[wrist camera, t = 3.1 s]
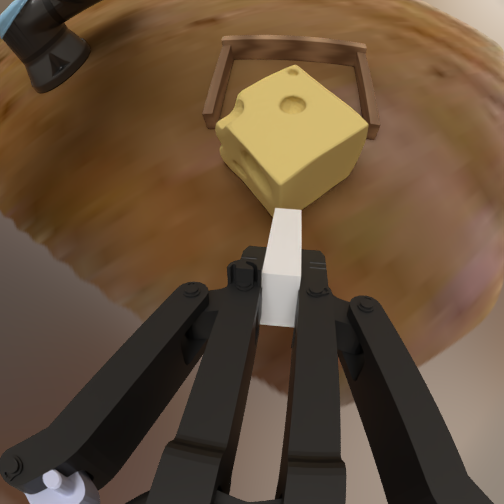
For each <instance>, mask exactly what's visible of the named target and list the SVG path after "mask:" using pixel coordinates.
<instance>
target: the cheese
mask: <svg viewBox="0 0 504 504" xmlns="http://www.w3.org/2000/svg"><path fill="white" fill-rule="evenodd" d="M215 131H216V135H217V137H218V139H219V141H220V142H221V144H222V145H221V147H220V155H221V157H222V159H223V160H224V162H225V163H226V164H227V166H228V167H229V168H230V169H231V170H232V171H233V172H234V173H235V174H236V175H238V176H239V177H240V178H241V180H242V181H243V182H244V183H245V184H246V185H247V186H248V188H249V189H250V190H251V191H252V193H253V194H254V195H255V196H256V197H257V199H258V200H259V201H260V202H261V203H262V205H263V206H264V207H265V208H266V210H267V211H268V212H269V213H270V215H271V216H272V217H273V216H274V212H275V208H282V209H295V210H302V209H304V208H305V207H307V206H308V205H309V204H311V203H312V202H314V201H315V200H316V199H318V198H319V197H320V196H322V195H323V194H324V193H326V192H327V191H328V190H330V189H331V188H332V187H334V186H335V185H337V184H338V183H339V182H341V181H342V180H344V179H345V178H347V177H348V176H349V174H350V173H351V171H352V169H353V168H354V166H355V164H356V162H357V160H358V158H359V156H360V153H361V151H362V148H363V146H364V143H365V141H366V137H367V132H368V123H367V122H366V121H365V120H364V119H363V118H362V117H361V116H360V115H359V114H358V113H357V112H356V111H354V110H353V109H352V108H351V107H350V106H348V105H347V104H346V103H344V102H343V101H342V100H340V99H339V98H338V97H336V96H335V95H334V94H333V93H331V92H330V91H329V90H327V89H326V88H325V87H323V86H322V85H321V84H319V83H318V82H317V81H316V80H314V79H313V78H312V77H311V76H309V75H308V74H307V73H306V72H305V71H303V70H302V69H301V68H300V67H298V66H297V65H292V66H290V67H288V68H285V69H283V70H281V71H279V72H276V73H274V74H272V75H270V76H268V77H266V78H264V79H262V80H260V81H258V82H257V83H255V84H253V85H251V86H249V87H248V88H246V89H244V90H243V91H241V92H240V93H239V94H238V96H237V99H236V104H235V107H234V109H233V111H232V112H231V113H230V114H229V115H228V116H226V117H225V118H223V119H221V120H219V121H218V122H217V123H216V126H215Z"/></svg>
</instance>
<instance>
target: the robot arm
mask: <svg viewBox="0 0 504 504" xmlns="http://www.w3.org/2000/svg"><path fill="white" fill-rule="evenodd" d="M100 1H102V0H14V1H13V2H12V3H11V4H10V5H9V6H8V7H7V8H6V10H4V12H3V13H2V14H1V15H0V36H1V39H3V40H4V41H5V42H6V44H7V45H8V46H9V47H10V48H11V50H12V51H13V52H14V53H15V54H16V55H17V56H18V58H19V59H20V60H21V61H22V62H23V63H24V65H25V67H26V69H27V72H28V75H29V77H30V80H31V84H32V86H33V88H34V89H35V90H36V91H37V92H39V93H44V92H47V91H49V90H51V89H53V88H55V87H56V86H58V85H59V84H61V83H62V82H64V81H65V80H66V79H67V78H69V77H70V76H71V75H72V74H73V73H74V72H75V71H76V70H77V69H78V68H79V67H80V66H81V65H82V64H83V62H84V61H85V60H86V58H87V57H88V55H89V53H90V47H89V45H88V43H87V42H86V41H85V40H84V39H82V38H80V37H79V36H77V35H76V34H75V33H74V32H72V31H71V30H69V29H68V28H67V26H66V25H65V23H64V22H66V21H67V20H69V19H70V18H72V17H73V16H75V15H77V14H78V13H80V12H82V11H84V10H85V9H87V8H89V7H91V6H93V5H94V4H96V3H98V2H100ZM227 275H228V285H227V287H225V288H222V289H218V290H210V291H208V288H207V287H206V285H204V284H202V283H200V282H188V283H185V284H182V285H181V286H179V287H178V288H177V289H176V290H175V291H174V292H173V293H172V294H171V295H170V296H169V297H168V298H167V299H166V300H165V301H164V302H163V303H162V304H161V305H160V307H159V308H158V309H157V310H156V311H155V312H154V313H153V314H152V315H151V316H150V317H149V318H148V319H147V320H146V321H145V322H144V323H143V324H142V325H141V326H140V327H139V328H138V329H137V331H136V332H135V333H134V334H133V335H132V336H131V337H130V338H129V339H128V340H127V341H126V342H125V343H124V344H123V345H122V346H121V347H120V349H119V350H118V351H117V352H116V353H115V354H114V355H113V356H112V357H111V358H110V359H109V360H108V361H107V363H106V364H105V365H104V366H103V367H102V368H101V369H100V370H99V371H98V372H97V373H96V374H95V375H94V377H93V378H92V379H91V380H90V381H89V382H88V383H87V384H86V385H85V387H84V388H83V389H82V390H81V391H80V392H79V393H78V394H77V395H76V396H75V397H74V399H73V400H72V401H71V402H70V403H69V404H68V405H67V407H66V408H65V409H64V410H63V411H62V412H61V413H60V415H59V416H58V417H57V418H56V419H55V420H54V421H53V422H52V423H51V425H50V426H49V427H48V428H46V429H44V430H42V431H40V432H39V433H37V434H35V435H33V436H31V437H30V438H28V439H26V440H24V441H22V442H21V443H19V444H17V445H15V446H13V447H11V448H9V449H7V450H6V451H5V452H4V453H3V454H2V456H1V458H0V474H1V475H2V477H3V479H4V480H5V481H6V482H7V483H8V484H9V485H11V486H13V487H15V488H17V489H18V490H20V491H22V492H24V493H25V495H26V496H27V498H28V501H29V502H30V504H100V499H99V498H100V497H99V493H98V490H100V489H101V488H103V487H104V486H105V485H106V484H107V483H108V482H109V481H110V480H111V479H112V478H113V477H114V476H115V475H116V474H117V473H118V472H119V470H120V469H121V468H122V466H123V465H124V464H125V462H126V461H127V460H128V458H129V457H130V456H131V454H132V452H134V450H135V449H136V447H137V446H138V445H139V443H140V442H141V440H142V439H143V438H144V436H145V435H146V434H147V432H148V431H149V430H150V428H151V427H152V425H153V424H154V423H155V421H156V420H157V419H158V417H159V416H160V414H161V413H162V412H163V410H164V409H165V407H166V406H167V405H168V403H169V402H170V400H171V399H172V398H173V396H174V395H175V393H176V392H177V391H178V389H179V388H180V386H181V385H182V383H183V382H184V381H185V379H186V378H187V376H188V375H189V374H190V372H191V371H192V369H193V368H194V366H195V365H196V363H197V362H198V361H199V359H200V358H201V356H202V355H203V357H202V360H201V363H200V366H199V369H198V372H197V375H196V378H195V381H194V384H193V387H192V390H191V393H190V396H189V399H188V402H187V405H186V408H185V411H184V414H183V417H182V420H181V422H180V426H179V429H178V432H177V434H176V437H175V438H174V440H172V441H170V442H169V443H168V444H167V445H166V447H165V449H164V451H163V454H162V457H161V460H160V462H159V465H158V468H157V472H156V474H155V477H154V480H153V483H152V486H151V489H150V491H148V492H145V493H143V494H141V495H140V496H138V497H136V498H134V499H132V500H131V501H129V502H127V503H126V504H345V500H346V499H345V498H346V467H345V463H344V462H343V461H342V459H341V455H340V453H341V452H340V451H341V447H340V446H341V445H340V443H341V442H340V439H341V438H340V437H341V436H340V393H339V372H338V357H339V359H340V362H341V365H342V367H343V370H344V373H345V375H346V378H347V381H348V384H349V386H350V389H351V392H352V395H353V398H354V400H355V403H356V406H357V409H358V412H359V415H360V417H361V420H362V423H363V426H364V429H365V432H366V435H367V438H368V441H369V444H370V447H371V450H372V453H373V457H374V459H375V463H376V466H377V469H378V472H379V475H380V479H381V482H382V485H383V488H384V492H385V495H386V499H387V502H388V504H494V503H493V502H492V501H491V500H490V499H489V498H488V497H487V496H486V495H485V494H484V492H483V491H482V490H481V489H480V488H479V487H478V486H477V485H476V484H475V483H474V482H473V480H471V479H470V477H469V476H468V475H467V472H466V470H465V467H464V465H463V462H462V460H461V457H460V455H459V453H458V450H457V448H456V446H455V443H454V441H453V439H452V437H451V434H450V432H449V430H448V428H447V426H446V424H445V422H444V420H443V417H442V415H441V413H440V411H439V409H438V407H437V405H436V403H435V401H434V399H433V397H432V395H431V393H430V391H429V389H428V387H427V385H426V383H425V381H424V380H423V378H422V376H421V374H420V372H419V370H418V368H417V366H416V365H415V363H414V361H413V359H412V357H411V356H410V354H409V352H408V350H407V348H406V347H405V345H404V343H403V341H402V340H401V338H400V336H399V334H398V333H397V331H396V329H395V328H394V326H393V324H392V323H391V321H390V319H389V318H388V316H387V314H386V313H385V311H384V309H383V308H382V306H381V304H380V303H379V302H378V301H377V300H375V299H374V298H372V297H368V296H357V297H354V298H353V299H352V300H351V302H348V301H344V300H341V299H339V298H337V297H335V296H334V295H333V294H332V292H331V289H330V288H329V287H328V279H327V270H326V262H325V256H324V255H323V254H322V253H321V251H315V250H303V249H301V210H295V209H282V208H275V212H274V216H273V221H272V226H271V231H270V236H269V241H268V246H267V247H256V246H249V247H247V248H246V249H245V250H244V251H243V254H242V256H241V259H240V260H237V261H234V262H232V263H230V264H229V265H228V267H227ZM259 324H263V325H273V326H284V327H294V332H293V339H292V345H291V348H292V356H291V368H290V380H289V391H288V402H287V412H286V422H285V431H284V440H283V448H282V457H281V465H280V472H279V480H278V485H277V490H276V495H275V500H267V501H259V502H245V501H242V500H240V499H237V498H235V497H232V496H230V495H229V492H230V486H231V476H232V470H233V465H234V461H235V456H236V451H237V446H238V441H239V436H240V431H241V426H242V421H243V416H244V411H245V405H246V400H247V395H248V390H249V385H250V380H251V374H252V369H253V364H254V358H255V353H256V347H257V342H258V336H259ZM337 354H338V355H337Z"/></svg>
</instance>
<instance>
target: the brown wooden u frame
mask: <svg viewBox="0 0 504 504" xmlns="http://www.w3.org/2000/svg"><path fill="white" fill-rule="evenodd" d="M222 45H223V46H222V49H221V52H220V55H219V58H218V62H217V65H216V68H215V71H214V75H213V78H212V81H211V85H210V88H209V92H208V95H207V99H206V102H205V106H204V109H203V113H202V114H203V117H204V120H205V122H206V125H207V128H208V129H215V126H216V123H217V122H218V121H219V118H220V114H221V109H222V105H223V101H224V97H225V92H226V88H227V84H228V80H229V76H230V72H231V68H232V64H233V60H234V59H280V60H300V61H313V62H324V63H333V64H341V65H348V66H354V68H355V73H356V79H357V85H358V91H359V97H360V104H361V111H362V118H363V119H364V120H365V121H366V122H367V123H368V132H367V137H366V139H372V140H374V139H375V137H376V134H377V132H378V130H379V127H380V120H379V114H378V108H377V103H376V98H375V93H374V88H373V83H372V79H371V74H370V70H369V66H368V62H367V58H366V54H365V53H366V45H365V44H362V43H356V42H350V41H343V40H335V39H327V38H317V37H305V36H287V35H238V36H223V38H222Z"/></svg>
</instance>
